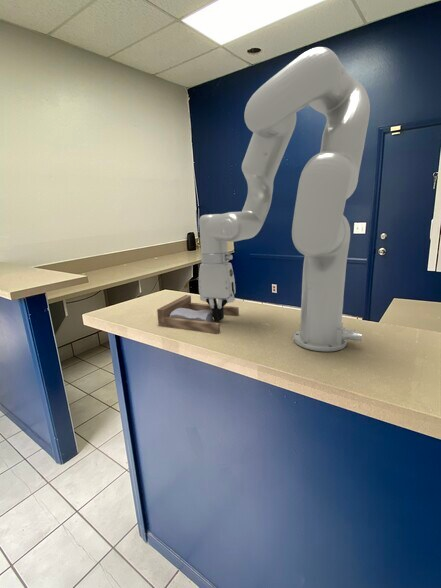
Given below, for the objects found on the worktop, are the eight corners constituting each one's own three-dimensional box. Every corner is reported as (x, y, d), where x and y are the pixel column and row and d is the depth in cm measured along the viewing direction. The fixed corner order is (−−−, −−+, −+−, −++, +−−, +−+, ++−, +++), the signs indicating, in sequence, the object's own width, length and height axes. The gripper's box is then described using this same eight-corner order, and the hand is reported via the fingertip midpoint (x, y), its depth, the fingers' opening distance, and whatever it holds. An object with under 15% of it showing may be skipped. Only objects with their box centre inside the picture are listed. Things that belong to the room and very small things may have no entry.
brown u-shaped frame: (238, 314, 99) (238, 299, 97) (217, 333, 84) (217, 316, 82) (186, 309, 106) (185, 295, 105) (158, 325, 91) (157, 309, 90)
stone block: (181, 321, 100) (166, 325, 90) (182, 306, 99) (167, 309, 90) (216, 325, 96) (204, 330, 87) (217, 310, 96) (205, 313, 86)
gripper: (244, 257, 88) (246, 318, 93) (197, 257, 94) (201, 314, 98) (234, 260, 82) (237, 326, 86) (185, 260, 87) (190, 322, 92)
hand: (218, 320), depth 92 cm, fingers closed
